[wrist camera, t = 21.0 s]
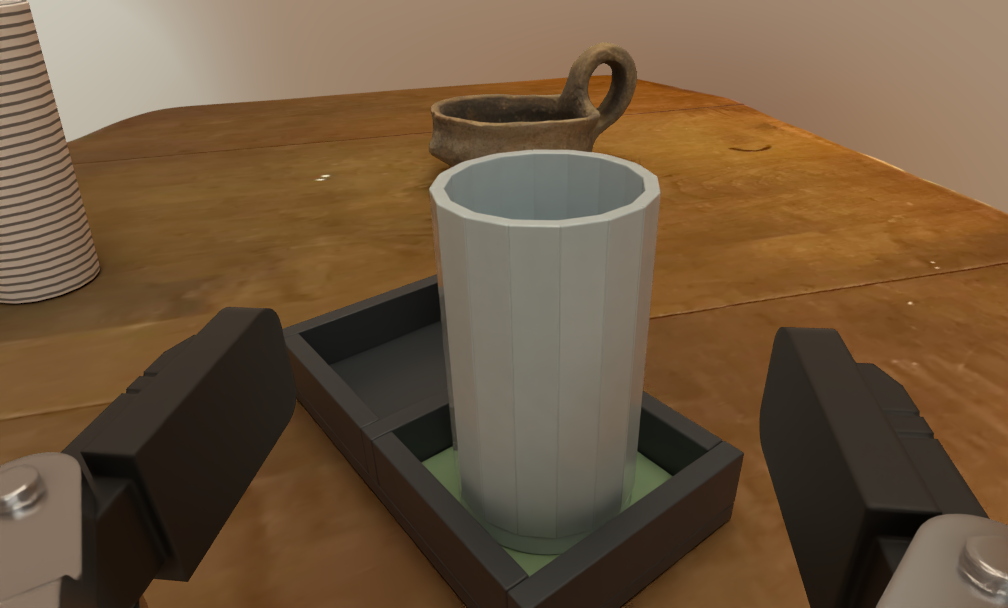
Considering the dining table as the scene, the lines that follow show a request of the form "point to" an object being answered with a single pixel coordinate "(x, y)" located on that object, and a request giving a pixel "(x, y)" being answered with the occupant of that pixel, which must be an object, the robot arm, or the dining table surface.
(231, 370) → the robot arm
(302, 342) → the tray
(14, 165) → the cup
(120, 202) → the dining table surface
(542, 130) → the bowl
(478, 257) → the tumbler
